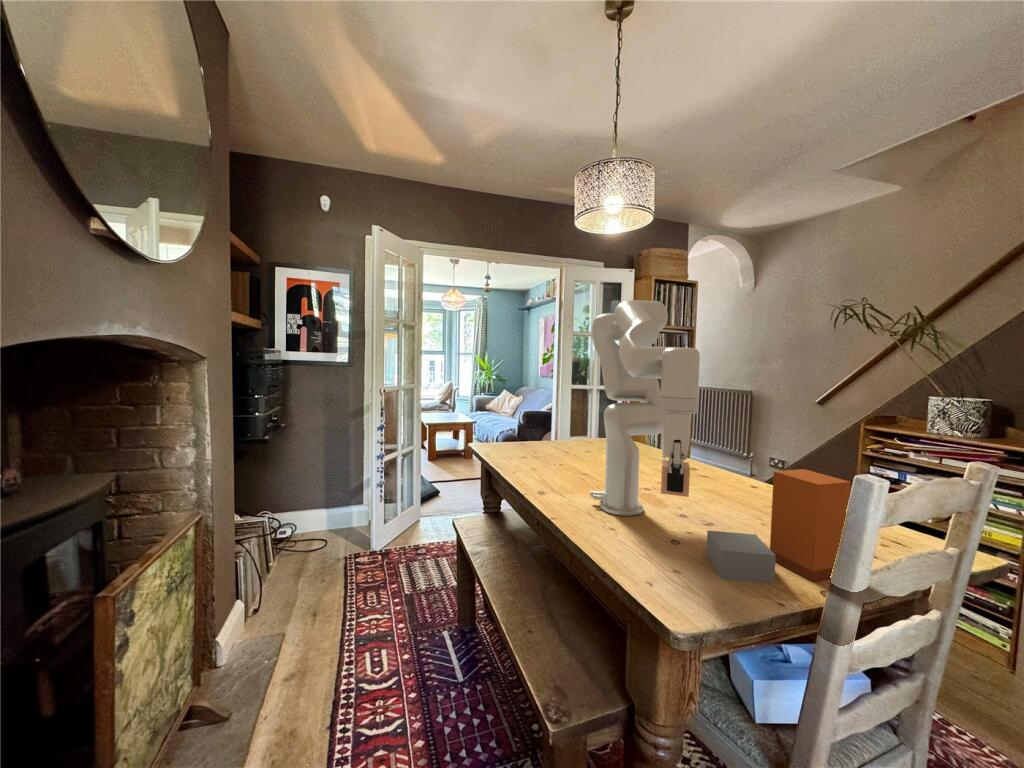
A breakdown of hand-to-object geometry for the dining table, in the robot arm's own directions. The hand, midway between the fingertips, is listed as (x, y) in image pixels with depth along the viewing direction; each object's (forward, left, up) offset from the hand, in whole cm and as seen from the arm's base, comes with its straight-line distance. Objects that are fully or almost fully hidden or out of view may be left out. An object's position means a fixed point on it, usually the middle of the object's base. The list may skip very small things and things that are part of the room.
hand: (674, 486), depth 90 cm
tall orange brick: (+27, +8, -17) cm, 33 cm away
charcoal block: (+13, +2, -17) cm, 22 cm away
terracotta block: (0, 0, -1) cm, 1 cm away
